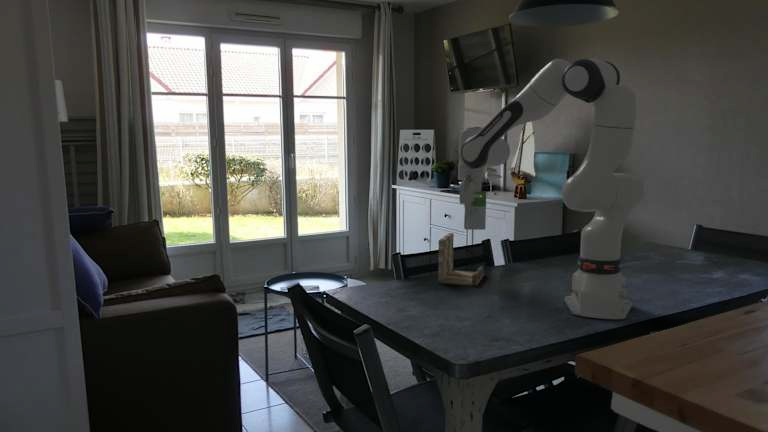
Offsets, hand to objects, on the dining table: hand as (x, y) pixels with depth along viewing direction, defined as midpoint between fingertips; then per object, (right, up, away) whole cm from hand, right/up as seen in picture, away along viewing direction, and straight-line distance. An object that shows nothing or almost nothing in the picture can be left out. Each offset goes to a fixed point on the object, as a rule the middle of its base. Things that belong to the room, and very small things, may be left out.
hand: (469, 214), depth 197 cm
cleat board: (-2, -23, +4) cm, 24 cm away
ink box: (+2, -5, +1) cm, 6 cm away
